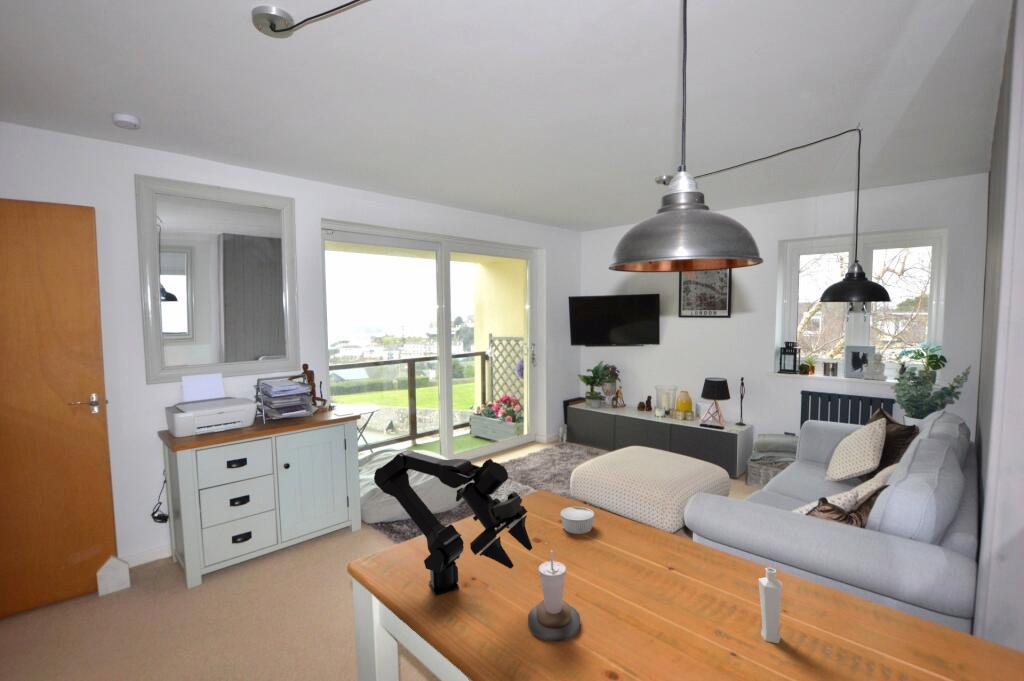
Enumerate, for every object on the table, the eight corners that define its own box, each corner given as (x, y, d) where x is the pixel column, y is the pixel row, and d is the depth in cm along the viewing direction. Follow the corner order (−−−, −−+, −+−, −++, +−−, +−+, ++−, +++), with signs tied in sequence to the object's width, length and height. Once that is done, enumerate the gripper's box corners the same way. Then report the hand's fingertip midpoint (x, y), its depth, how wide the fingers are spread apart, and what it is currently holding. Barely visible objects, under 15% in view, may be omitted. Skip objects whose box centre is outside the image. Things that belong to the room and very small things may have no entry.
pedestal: (544, 648, 100) (544, 632, 100) (519, 616, 111) (518, 602, 111) (590, 630, 105) (590, 615, 105) (562, 602, 116) (562, 588, 116)
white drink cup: (539, 617, 105) (537, 556, 104) (539, 600, 112) (538, 542, 111) (568, 617, 105) (566, 557, 104) (566, 600, 111) (565, 542, 110)
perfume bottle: (761, 627, 105) (761, 562, 104) (783, 635, 102) (783, 568, 101) (756, 638, 101) (756, 571, 101) (779, 647, 99) (779, 577, 98)
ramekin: (596, 522, 160) (596, 507, 160) (592, 538, 149) (591, 521, 149) (564, 519, 163) (564, 504, 163) (557, 534, 153) (557, 518, 152)
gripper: (479, 499, 105) (523, 559, 100) (519, 474, 121) (559, 524, 117) (452, 526, 110) (493, 584, 105) (495, 498, 126) (532, 547, 121)
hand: (522, 558), depth 112 cm, fingers open, 9 cm apart
